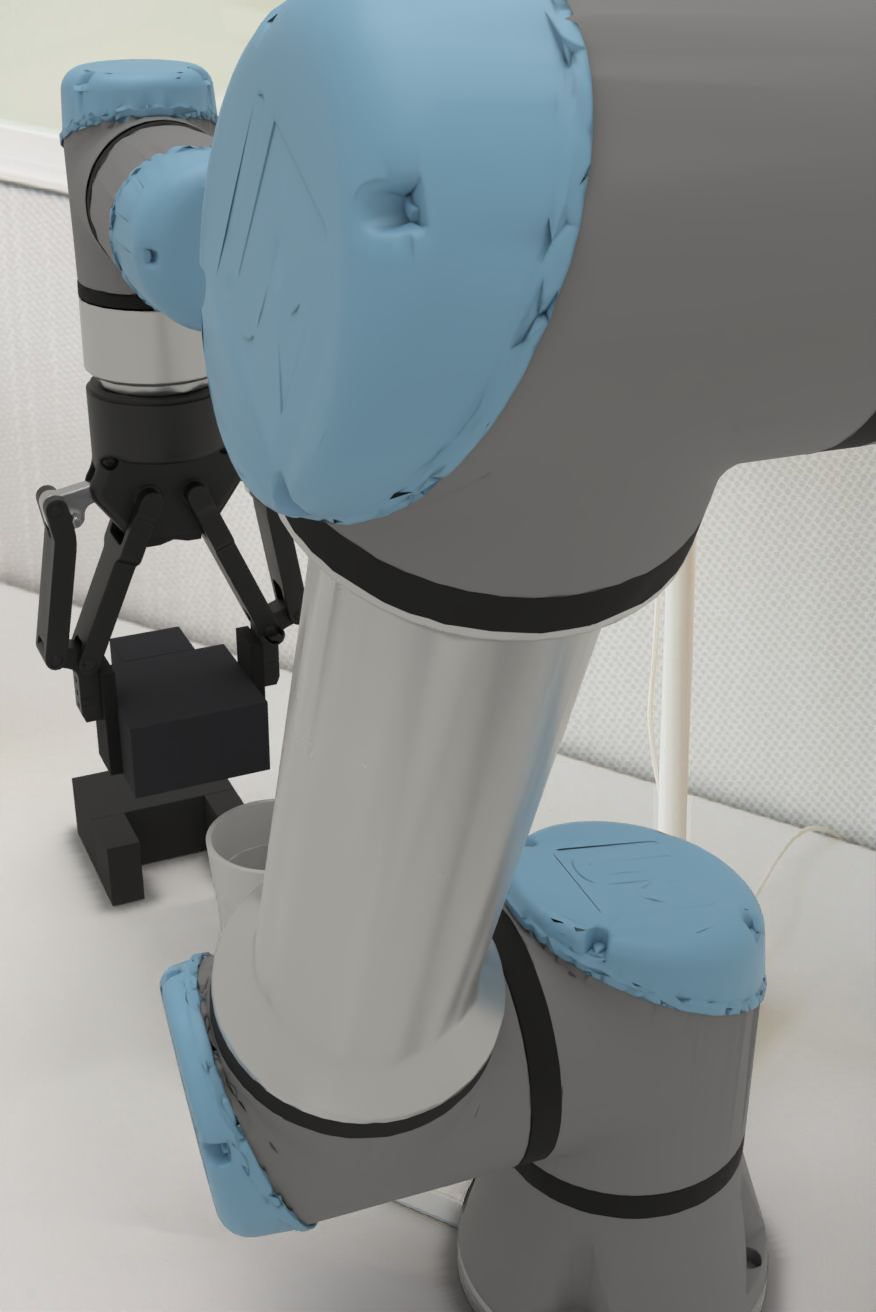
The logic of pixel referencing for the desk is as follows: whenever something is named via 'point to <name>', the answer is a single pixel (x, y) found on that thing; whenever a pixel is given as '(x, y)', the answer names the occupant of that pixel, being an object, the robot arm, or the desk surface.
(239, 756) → the tab pad
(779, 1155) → the desk surface
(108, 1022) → the desk surface
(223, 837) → the cup
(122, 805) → the notch pad
